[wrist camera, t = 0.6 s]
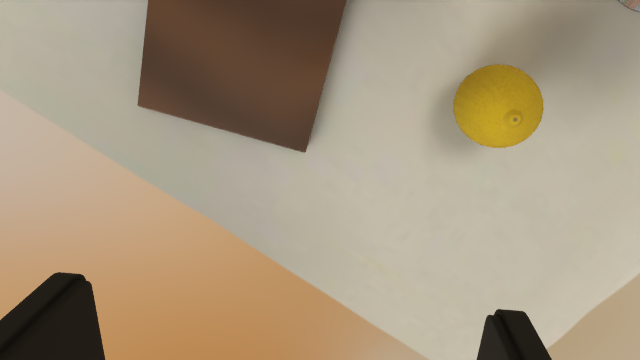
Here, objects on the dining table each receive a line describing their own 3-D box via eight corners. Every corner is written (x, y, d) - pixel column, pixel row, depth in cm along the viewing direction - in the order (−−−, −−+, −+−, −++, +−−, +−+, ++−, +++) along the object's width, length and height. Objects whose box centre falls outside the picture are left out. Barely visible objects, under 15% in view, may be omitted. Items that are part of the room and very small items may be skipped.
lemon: (532, 95, 34) (581, 121, 26) (474, 142, 35) (504, 179, 28) (488, 42, 32) (526, 53, 25) (429, 94, 34) (449, 118, 27)
